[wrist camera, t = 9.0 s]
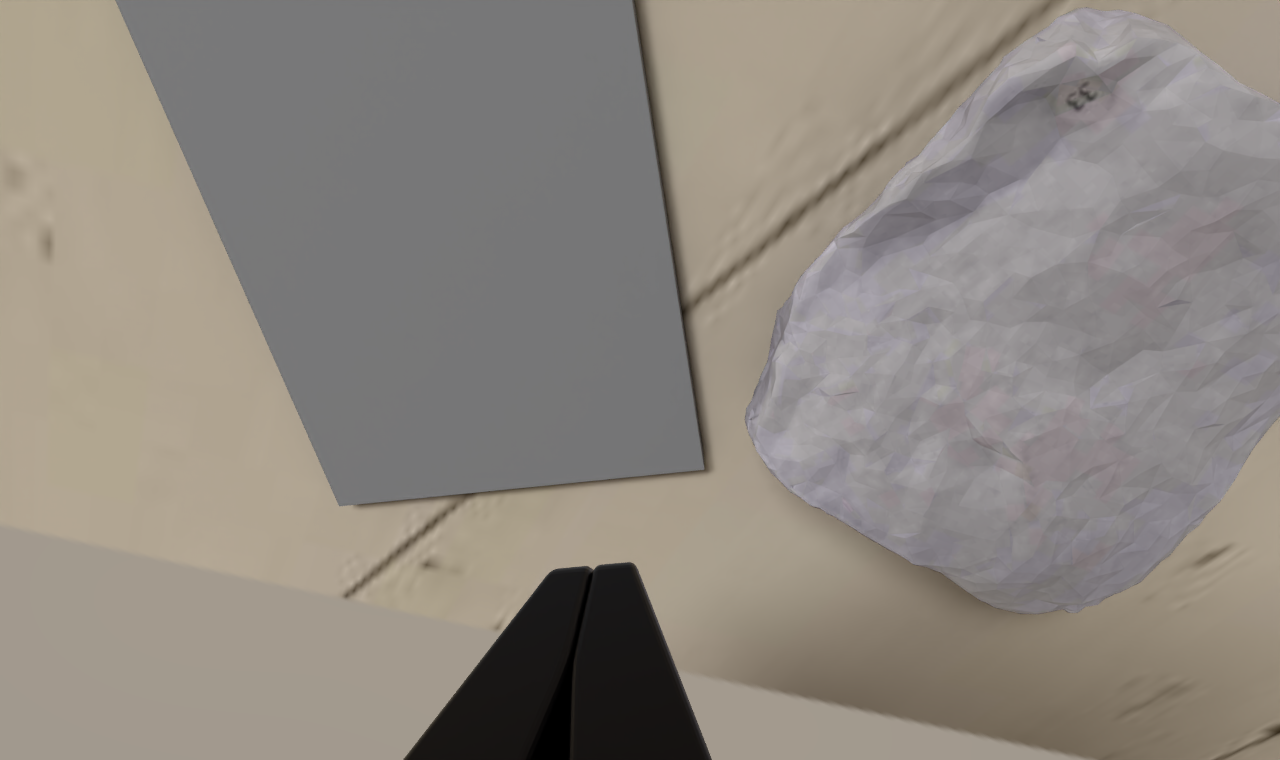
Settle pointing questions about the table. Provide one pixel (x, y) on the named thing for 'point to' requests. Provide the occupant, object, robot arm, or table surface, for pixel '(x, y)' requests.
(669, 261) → the mat
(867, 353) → the stone block
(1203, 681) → the table surface
